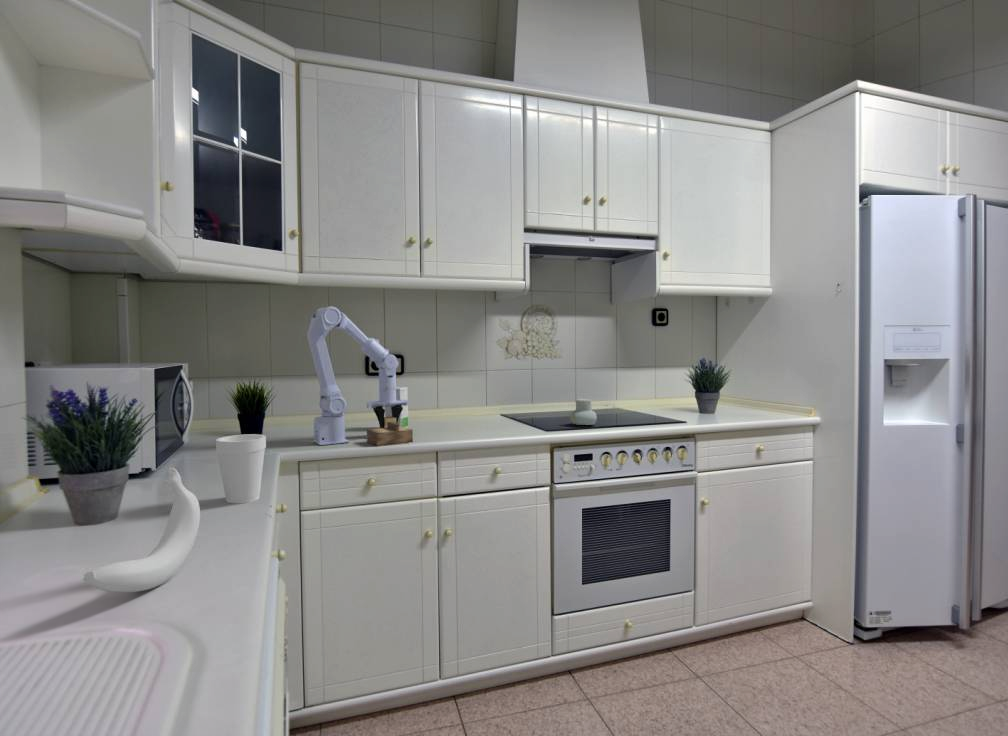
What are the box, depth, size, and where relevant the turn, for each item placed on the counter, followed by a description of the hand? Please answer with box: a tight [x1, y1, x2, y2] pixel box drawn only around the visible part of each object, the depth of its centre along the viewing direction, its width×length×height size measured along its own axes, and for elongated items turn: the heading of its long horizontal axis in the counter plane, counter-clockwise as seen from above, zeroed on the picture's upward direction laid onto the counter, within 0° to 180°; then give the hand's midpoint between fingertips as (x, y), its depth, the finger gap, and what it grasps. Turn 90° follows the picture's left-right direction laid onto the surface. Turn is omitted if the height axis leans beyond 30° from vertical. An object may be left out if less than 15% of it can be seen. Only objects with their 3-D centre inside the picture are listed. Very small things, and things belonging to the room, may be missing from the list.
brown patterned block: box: [384, 416, 396, 428], centre depth 194 cm, size 4×4×6 cm
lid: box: [370, 422, 412, 433], centre depth 183 cm, size 11×8×3 cm
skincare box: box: [384, 386, 410, 429], centre depth 211 cm, size 8×7×16 cm
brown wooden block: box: [366, 426, 414, 447], centre depth 183 cm, size 12×9×4 cm
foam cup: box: [215, 433, 267, 504], centre depth 118 cm, size 10×9×13 cm
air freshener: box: [570, 398, 598, 426], centre depth 216 cm, size 11×8×10 cm
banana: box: [82, 466, 201, 593], centre depth 77 cm, size 5×19×15 cm, turn 178°
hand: (388, 427), depth 194 cm, fingers closed on brown patterned block, 4 cm apart
